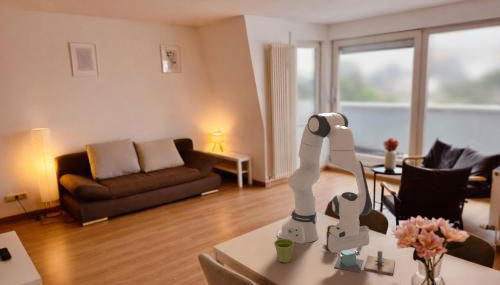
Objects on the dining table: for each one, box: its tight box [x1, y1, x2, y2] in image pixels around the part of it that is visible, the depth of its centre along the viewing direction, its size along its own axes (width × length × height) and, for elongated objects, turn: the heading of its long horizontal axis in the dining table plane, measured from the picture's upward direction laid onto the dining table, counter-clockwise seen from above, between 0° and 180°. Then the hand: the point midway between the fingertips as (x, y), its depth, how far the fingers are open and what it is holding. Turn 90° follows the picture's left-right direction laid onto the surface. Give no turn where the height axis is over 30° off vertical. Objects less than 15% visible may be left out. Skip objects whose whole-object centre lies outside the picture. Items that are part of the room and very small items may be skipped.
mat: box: [333, 258, 364, 274], centre depth 161 cm, size 11×11×1 cm
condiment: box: [321, 224, 337, 254], centre depth 176 cm, size 7×8×12 cm
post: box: [363, 250, 396, 276], centre depth 159 cm, size 12×12×7 cm
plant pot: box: [273, 238, 295, 264], centre depth 167 cm, size 9×9×9 cm
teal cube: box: [340, 249, 357, 266], centre depth 161 cm, size 5×5×5 cm
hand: (348, 256), depth 161 cm, fingers open, 8 cm apart
